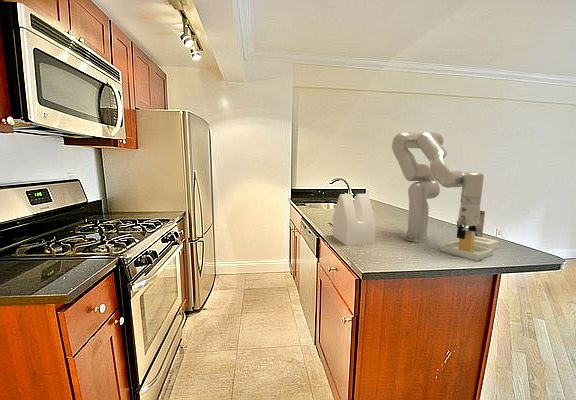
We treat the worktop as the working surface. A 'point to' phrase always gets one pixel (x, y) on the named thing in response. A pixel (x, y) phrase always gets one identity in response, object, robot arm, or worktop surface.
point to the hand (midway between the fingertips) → (466, 236)
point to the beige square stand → (486, 243)
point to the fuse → (467, 241)
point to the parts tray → (475, 256)
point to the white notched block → (354, 220)
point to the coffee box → (480, 224)
